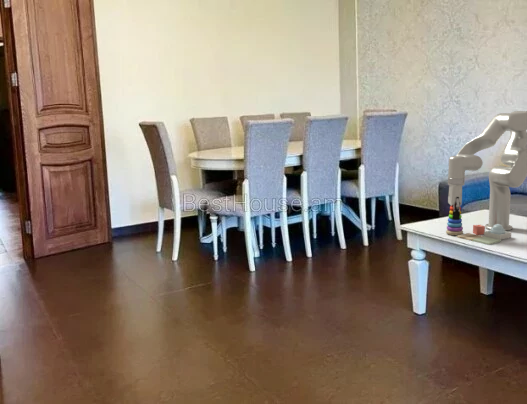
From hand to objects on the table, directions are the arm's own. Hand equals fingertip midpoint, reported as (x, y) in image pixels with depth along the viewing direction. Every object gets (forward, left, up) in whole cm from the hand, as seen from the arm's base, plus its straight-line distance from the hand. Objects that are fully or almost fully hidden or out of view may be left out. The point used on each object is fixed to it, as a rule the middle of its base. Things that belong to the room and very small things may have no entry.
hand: (454, 217), depth 265 cm
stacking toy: (0, 0, -8) cm, 8 cm away
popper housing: (+5, +19, -8) cm, 21 cm away
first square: (+7, +6, -8) cm, 12 cm away
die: (-2, +12, -8) cm, 14 cm away
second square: (+13, +12, -8) cm, 20 cm away
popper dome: (+5, +19, -7) cm, 21 cm away
